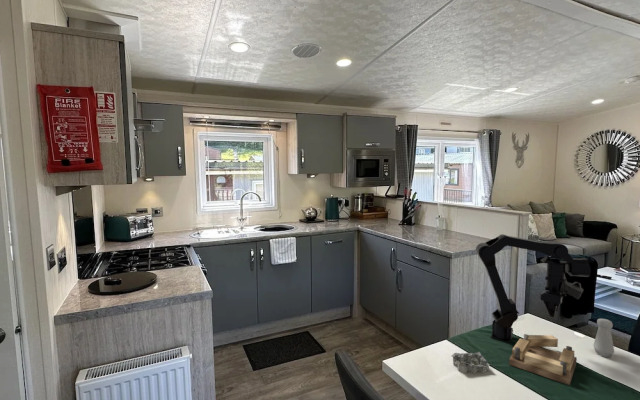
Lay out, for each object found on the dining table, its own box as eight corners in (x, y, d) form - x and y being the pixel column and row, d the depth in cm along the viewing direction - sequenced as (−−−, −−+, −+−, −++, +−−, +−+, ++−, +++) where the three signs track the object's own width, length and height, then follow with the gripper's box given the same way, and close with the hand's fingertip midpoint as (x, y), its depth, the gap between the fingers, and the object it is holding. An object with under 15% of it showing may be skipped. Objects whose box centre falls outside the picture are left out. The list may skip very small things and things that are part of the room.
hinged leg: (525, 346, 122) (526, 337, 122) (521, 342, 125) (521, 333, 125) (557, 347, 122) (557, 337, 121) (552, 343, 125) (552, 333, 124)
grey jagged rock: (458, 374, 110) (459, 362, 109) (450, 361, 117) (450, 350, 117) (490, 373, 110) (491, 361, 109) (480, 361, 117) (480, 350, 117)
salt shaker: (618, 359, 117) (619, 324, 116) (599, 358, 118) (601, 322, 117) (607, 351, 123) (608, 317, 122) (589, 349, 124) (591, 316, 123)
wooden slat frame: (508, 364, 114) (509, 348, 114) (521, 346, 127) (521, 331, 126) (569, 385, 103) (570, 367, 102) (576, 362, 115) (577, 346, 115)
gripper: (578, 284, 115) (576, 328, 116) (585, 273, 128) (583, 312, 129) (541, 278, 122) (539, 318, 123) (550, 268, 136) (549, 305, 137)
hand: (553, 313), depth 128 cm, fingers open, 7 cm apart
